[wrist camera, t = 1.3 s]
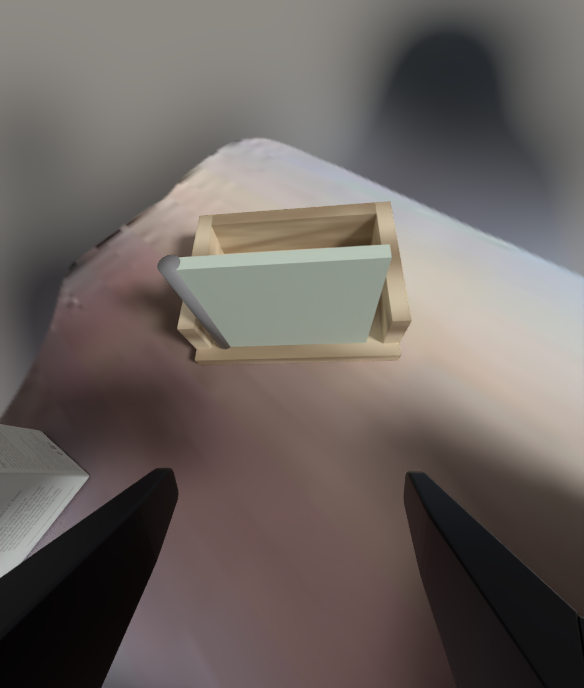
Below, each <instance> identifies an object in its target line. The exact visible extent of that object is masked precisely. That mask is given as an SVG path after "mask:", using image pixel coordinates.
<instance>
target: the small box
mask: <svg viewBox="0 0 584 688" xmlns="http://www.w3.org/2000/svg"><path fill="white" fill-rule="evenodd" d="M88 478H89V475H88V474H87V473H86V472H85V471H84V470H83V469H82V468H81V467H80V466H79V465H77V464H76V463H75V462H74V461H73V460H72V459H71V458H70V457H69V456H68V455H67V454H65V453H64V452H63V451H62V450H61V449H60V448H59V447H58V446H57V445H56V444H55V443H53V442H52V441H51V440H50V439H49V438H48V437H47V436H46V435H45V434H44V433H43V432H42V431H39V430H33V429H27V428H21V427H15V426H9V425H3V424H0V578H1V577H2V576H3V575H5V574H6V573H8V572H9V571H10V570H12V569H13V568H15V567H16V566H18V565H19V564H20V563H21V562H22V561H23V560H24V559H25V557H26V556H27V555H28V554H29V552H30V551H31V550H32V549H33V547H34V546H35V545H36V544H37V542H38V541H39V540H40V539H41V537H42V536H43V535H44V534H45V532H46V531H47V530H48V529H49V527H50V526H51V525H52V523H53V522H54V521H55V520H56V518H57V517H58V516H59V515H60V513H61V512H62V511H63V509H64V508H65V507H66V506H67V504H68V503H69V502H70V501H71V499H72V498H73V497H74V495H75V494H76V493H77V492H78V491H79V489H80V488H81V487H82V485H83V484H84V483H85V482H86V480H87V479H88Z"/></svg>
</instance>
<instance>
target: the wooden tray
mask: <svg viewBox="0 0 584 688" xmlns="http://www.w3.org/2000/svg"><path fill="white" fill-rule="evenodd" d="M386 244H390V249H391V256H392V258H391V262H390V265H389V268H388V272H387V275H386V278H385V282H384V285H383V288H382V292H381V295H380V298H379V302H378V305H377V308H376V312H375V315H374V318H373V322H372V325H371V328H370V332H369V335H368V338H367V342H366V343H342V344H309V345H276V346H243V347H230V348H228V349H221V348H220V347H219V346H218V344H217V343H216V342H215V341H214V339H213V338H212V337H211V336H210V334H209V333H208V332H207V331H206V329H205V328H204V327H203V326H202V324H201V323H200V322H199V321H198V319H197V318H196V317H195V315H194V314H193V313H192V312H191V310H190V309H189V308H188V307H187V305H186V304H185V303H184V302H182V307H181V312H180V317H179V322H178V327H177V330H178V331H179V332H180V333H181V334H182V335H183V336H184V337H185V338H186V339H187V340H188V341H189V342H190V343H191V344H192V345H193V346H194V347H195V348H196V349H197V350H196V356H195V361H196V362H197V363H198V364H199V365H220V364H261V363H302V362H342V361H383V360H399V358H400V356H401V350H400V344H399V343H400V341H401V339H402V337H403V335H404V334H405V332H406V330H407V328H408V326H409V324H410V323H411V321H412V320H411V314H410V309H409V303H408V298H407V292H406V286H405V281H404V275H403V270H402V264H401V258H400V253H399V247H398V242H397V236H396V230H395V225H394V219H393V214H392V208H391V202H390V201H389V202H376V203H363V204H350V205H337V206H323V207H310V208H297V209H284V210H271V211H257V212H244V213H231V214H218V215H205V216H199V221H198V226H197V231H196V236H195V241H194V246H193V251H192V256H191V257H193V256H209V255H225V254H241V253H257V252H273V251H289V250H306V249H322V248H338V247H354V246H370V245H386Z"/></svg>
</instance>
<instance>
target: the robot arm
mask: <svg viewBox="0 0 584 688" xmlns="http://www.w3.org/2000/svg"><path fill="white" fill-rule="evenodd" d="M177 500H178V488H177V484H176V480H175V476H174V472H173V470H172V469H171V468H156V469H154V470H153V471H151V472H150V473H149V474H147V475H146V476H144V477H143V478H141V479H140V480H139V481H137V482H136V483H134V484H133V485H131V486H130V487H129V488H127V489H126V490H124V491H123V492H122V493H120V494H119V495H117V496H116V497H114V498H113V499H112V500H110V501H109V502H107V503H106V504H104V505H103V506H102V507H100V508H99V509H97V510H96V511H94V512H93V513H92V514H90V515H89V516H87V517H86V518H85V519H83V520H82V521H80V522H79V523H77V524H76V525H75V526H73V527H72V528H70V529H69V530H67V531H66V532H65V533H63V534H62V535H60V536H59V537H57V538H56V539H55V540H53V541H52V542H50V543H49V544H48V545H46V546H45V547H43V548H42V549H40V550H39V551H38V552H36V553H35V554H33V555H32V556H30V557H29V558H28V559H26V560H25V561H23V562H22V563H20V564H19V565H18V566H16V567H15V568H13V569H12V570H10V571H9V572H8V573H6V574H5V575H3V576H2V577H1V578H0V688H101V687H102V685H103V683H104V680H105V678H106V676H107V673H108V671H109V669H110V667H111V664H112V662H113V660H114V658H115V655H116V653H117V651H118V649H119V646H120V644H121V642H122V639H123V637H124V635H125V633H126V630H127V628H128V626H129V624H130V621H131V619H132V617H133V614H134V612H135V610H136V608H137V605H138V603H139V601H140V599H141V596H142V594H143V592H144V589H145V587H146V585H147V583H148V580H149V578H150V576H151V574H152V571H153V569H154V566H155V564H156V562H157V559H158V556H159V553H160V551H161V548H162V545H163V542H164V539H165V536H166V533H167V530H168V527H169V524H170V521H171V518H172V515H173V512H174V509H175V506H176V503H177ZM404 505H405V510H406V514H407V519H408V523H409V528H410V532H411V537H412V541H413V545H414V550H415V554H416V559H417V563H418V567H419V571H420V575H421V579H422V582H423V585H424V588H425V591H426V594H427V597H428V600H429V604H430V607H431V610H432V613H433V616H434V619H435V622H436V625H437V628H438V631H439V634H440V637H441V640H442V643H443V646H444V649H445V652H446V655H447V658H448V661H449V665H450V668H451V671H452V674H453V677H454V680H455V683H456V686H457V688H584V618H583V617H582V616H578V614H577V612H576V611H575V610H574V609H573V608H572V607H571V606H570V605H569V604H568V603H567V602H566V601H565V600H563V599H562V598H561V597H560V596H559V595H558V594H557V593H556V592H555V591H554V590H553V589H551V588H550V587H549V586H548V585H547V584H546V583H545V582H544V581H543V580H542V579H541V578H539V577H538V576H537V575H536V574H535V573H534V572H533V571H532V570H531V569H530V568H529V567H527V566H526V565H525V564H524V563H523V562H522V561H521V560H520V559H519V558H518V557H517V556H515V555H514V554H513V553H512V552H511V551H510V550H509V549H508V548H507V547H506V546H505V545H503V544H502V543H501V542H500V541H499V540H498V539H497V538H496V537H495V536H494V535H493V534H491V533H490V532H489V531H488V530H487V529H486V528H485V527H484V526H483V525H482V524H481V523H479V522H478V521H477V520H476V519H475V518H474V517H473V516H472V515H471V514H470V513H469V512H467V511H466V510H465V509H464V508H463V507H462V506H461V505H460V504H459V503H458V502H457V501H455V500H454V499H453V498H452V497H451V496H450V495H449V494H448V493H447V492H446V491H445V490H443V489H442V488H441V487H440V486H439V485H438V484H437V483H436V482H435V481H434V480H433V479H431V478H430V477H429V476H428V475H427V474H426V473H424V472H422V471H408V472H407V473H406V476H405V487H404Z"/></svg>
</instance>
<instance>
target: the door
mask: <svg viewBox="0 0 584 688" xmlns="http://www.w3.org/2000/svg"><path fill="white" fill-rule="evenodd" d="M391 258H392V256H391V249H390V244H386V245H370V246H354V247H338V248H322V249H306V250H289V251H273V252H257V253H241V254H225V255H209V256H193V257H178V256H176V255H168V256H165V257H163V258H162V259H161V260H160V261H159V263H158V266H157V267H158V270H159V271H160V273H161V274H162V275H163V277H164V278H165V279H166V280H167V282H168V283H169V284H170V285H171V287H172V288H173V289H174V290H175V292H176V293H177V294H178V295H179V297H180V298H181V299H182V300H183V302H184V303H185V304H186V305H187V307H188V308H189V309H190V310H191V312H192V313H193V314H194V315H195V317H196V318H197V319H198V321H199V322H200V323H201V324H202V326H203V327H204V328H205V329H206V331H207V332H208V333H209V334H210V336H211V337H212V338H213V339H214V341H215V342H216V343H217V344H218V346H219V347H220V348H221V349H228V348H230V347H243V346H276V345H309V344H342V343H366V342H367V338H368V335H369V332H370V328H371V325H372V322H373V318H374V315H375V312H376V308H377V305H378V302H379V298H380V295H381V292H382V288H383V285H384V282H385V278H386V275H387V272H388V268H389V265H390V262H391Z"/></svg>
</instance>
